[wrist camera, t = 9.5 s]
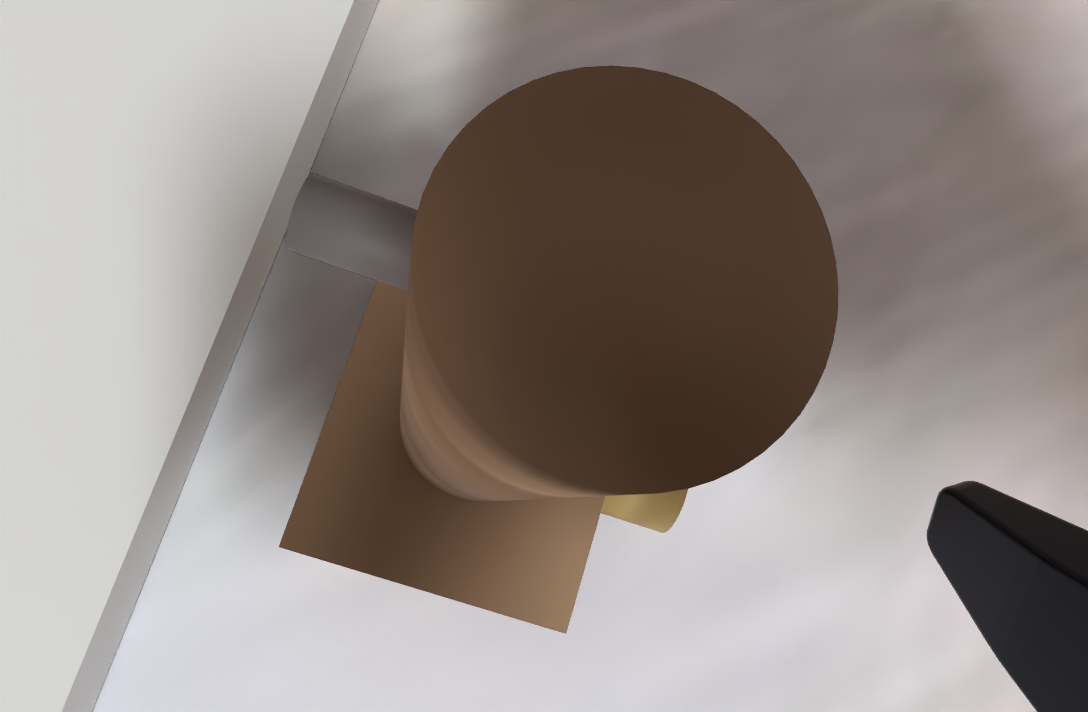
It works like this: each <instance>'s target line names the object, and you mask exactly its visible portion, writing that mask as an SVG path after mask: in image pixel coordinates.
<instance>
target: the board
mask: <svg viewBox="0 0 1088 712" xmlns="http://www.w3.org/2000/svg"><path fill="white" fill-rule="evenodd" d="M378 1H379V0H0V712H92V711H93V708H94V706H95V703H96V701H97V699H98V696H99V694H100V691H101V689H102V686H103V684H104V681H105V679H106V676H107V674H108V671H109V669H110V666H111V664H112V661H113V659H114V656H115V654H116V651H117V649H118V646H119V644H120V641H121V639H122V636H123V634H124V632H125V629H126V627H127V624H128V622H129V619H130V617H131V614H132V612H133V609H134V607H135V604H136V602H137V599H138V597H139V594H140V592H141V589H142V587H143V584H144V582H145V579H146V577H147V574H148V572H149V570H150V567H151V565H152V562H153V560H154V557H155V555H156V552H157V550H158V547H159V545H160V542H161V540H162V537H163V535H164V532H165V530H166V527H167V525H168V522H169V520H170V517H171V515H172V512H173V510H174V507H175V505H176V503H177V500H178V498H179V495H180V493H181V490H182V488H183V485H184V483H185V480H186V478H187V475H188V473H189V470H190V468H191V465H192V463H193V460H194V458H195V455H196V453H197V450H198V448H199V445H200V443H201V440H202V438H203V436H204V433H205V431H206V428H207V426H208V423H209V421H210V418H211V416H212V413H213V411H214V408H215V406H216V403H217V401H218V398H219V396H220V393H221V391H222V388H223V386H224V383H225V381H226V378H227V376H228V374H229V371H230V369H231V366H232V364H233V361H234V359H235V356H236V354H237V351H238V349H239V346H240V344H241V341H242V339H243V336H244V334H245V331H246V329H247V326H248V324H249V321H250V319H251V316H252V314H253V311H254V309H255V307H256V304H257V302H258V299H259V297H260V294H261V292H262V289H263V287H264V284H265V282H266V279H267V277H268V274H269V272H270V269H271V267H272V264H273V262H274V259H275V257H276V254H277V252H278V249H279V247H280V245H281V242H282V240H283V237H284V235H285V232H286V230H287V227H288V223H289V219H290V215H291V212H292V209H293V206H294V203H295V200H296V198H297V195H298V193H299V191H300V188H301V186H302V185H303V183H304V181H305V180H306V178H307V177H308V175H309V173H310V170H311V168H312V165H313V163H314V160H315V158H316V155H317V153H318V150H319V148H320V145H321V143H322V140H323V138H324V135H325V133H326V130H327V128H328V125H329V123H330V120H331V118H332V116H333V113H334V111H335V108H336V106H337V103H338V101H339V98H340V96H341V93H342V91H343V88H344V86H345V83H346V81H347V78H348V76H349V73H350V71H351V68H352V66H353V63H354V61H355V58H356V56H357V53H358V51H359V49H360V46H361V44H362V41H363V39H364V36H365V34H366V31H367V29H368V26H369V24H370V21H371V19H372V16H373V14H374V11H375V9H376V6H377V4H378Z"/></svg>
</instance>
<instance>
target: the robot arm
mask: <svg viewBox="0 0 1088 712" xmlns="http://www.w3.org/2000/svg"><path fill="white" fill-rule="evenodd" d="M927 541H928V545H929V547H930V550H931V552H932V554H933V555H934V557H935V559H936V560H937V562H938V564H939V565H940V567H941V568H942V570H943V572H944V573H945V575H946V577H947V578H948V580H949V581H950V583H951V585H952V586H953V588H954V590H955V591H956V593H957V594H958V596H959V598H960V599H961V601H962V603H963V604H964V606H965V607H966V609H967V611H968V612H969V614H970V616H971V617H972V619H973V620H974V622H975V624H976V625H977V627H978V629H979V630H980V632H981V633H982V635H983V637H984V638H985V640H986V642H987V643H988V645H989V646H990V648H991V649H992V651H993V652H994V654H995V655H996V657H997V658H998V660H999V661H1000V662H1001V664H1002V665H1003V667H1004V668H1005V669H1006V671H1007V672H1008V674H1009V675H1010V676H1011V678H1012V679H1013V680H1014V682H1015V683H1016V684H1017V686H1018V687H1019V688H1020V690H1021V691H1022V692H1023V694H1024V695H1025V696H1026V697H1027V699H1028V700H1029V701H1030V703H1031V704H1032V705H1033V707H1034V708H1035V709H1036V711H1037V712H1088V531H1087V530H1085V529H1083V528H1080V527H1078V526H1076V525H1074V524H1071V523H1069V522H1067V521H1065V520H1062V519H1060V518H1058V517H1056V516H1053V515H1051V514H1049V513H1047V512H1044V511H1042V510H1040V509H1038V508H1035V507H1033V506H1031V505H1029V504H1026V503H1024V502H1022V501H1020V500H1017V499H1015V498H1013V497H1011V496H1008V495H1006V494H1004V493H1002V492H999V491H997V490H995V489H993V488H990V487H988V486H986V485H984V484H981V483H979V482H975V481H965V482H961V483H958V484H955V485H952V486H949V487H945V488H943V489H942V490H941V491H940V492H939V494H938V496H937V499H936V502H935V506H934V509H933V512H932V516H931V519H930V523H929V526H928V529H927Z"/></svg>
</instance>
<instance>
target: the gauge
mask: <svg viewBox="0 0 1088 712" xmlns="http://www.w3.org/2000/svg"><path fill="white" fill-rule="evenodd" d="M286 248H287V250H289V251H292V252H295V253H298V254H301V255H304V256H306V257H309V258H312V259H315V260H318V261H321V262H324V263H327V264H330V265H333V266H336V267H338V268H341V269H344V270H347V271H350V272H353V273H356V274H359V275H362V276H365V277H368V278H370V279H373V280H376V281H377V282H376V285H375V288H374V290H373V293H372V296H371V298H370V301H369V304H368V307H367V309H366V312H365V315H364V317H363V320H362V323H361V326H360V328H359V331H358V334H357V336H356V339H355V342H354V344H353V347H352V350H351V353H350V355H349V358H348V361H347V363H346V366H345V369H344V372H343V374H342V377H341V380H340V382H339V385H338V388H337V391H336V393H335V396H334V399H333V401H332V404H331V407H330V410H329V412H328V415H327V418H326V420H325V423H324V426H323V428H322V431H321V434H320V437H319V439H318V442H317V445H316V447H315V450H314V453H313V456H312V458H311V461H310V464H309V466H308V469H307V472H306V475H305V477H304V480H303V483H302V485H301V488H300V491H299V494H298V496H297V499H296V502H295V504H294V507H293V510H292V512H291V515H290V518H289V521H288V523H287V526H286V529H285V531H284V534H283V537H282V540H281V542H280V545H279V547H281V548H284V549H287V550H291V551H294V552H297V553H301V554H304V555H307V556H310V557H314V558H317V559H320V560H324V561H327V562H330V563H334V564H337V565H340V566H344V567H347V568H350V569H354V570H357V571H360V572H363V573H367V574H370V575H373V576H377V577H380V578H383V579H387V580H390V581H393V582H397V583H400V584H403V585H406V586H410V587H413V588H416V589H420V590H423V591H426V592H430V593H433V594H436V595H440V596H443V597H446V598H449V599H453V600H456V601H459V602H463V603H466V604H469V605H473V606H476V607H479V608H483V609H486V610H489V611H492V612H496V613H499V614H502V615H506V616H509V617H512V618H516V619H519V620H522V621H526V622H529V623H532V624H536V625H539V626H542V627H545V628H549V629H552V630H555V631H559V632H562V633H565V634H566V632H567V628H568V625H569V621H570V618H571V614H572V611H573V607H574V604H575V600H576V597H577V593H578V590H579V586H580V583H581V579H582V576H583V572H584V569H585V565H586V561H587V558H588V554H589V551H590V547H591V544H592V540H593V537H594V533H595V530H596V526H597V523H598V519H599V516H600V513H603V514H606V515H609V516H612V517H615V518H618V519H621V520H624V521H628V522H631V523H634V524H637V525H640V526H643V527H646V528H649V529H652V530H656V531H659V532H662V533H664V532H666V531H668V530H669V529H670V528H671V527H672V525H673V524H674V523H675V521H676V519H677V517H678V515H679V513H680V511H681V509H682V506H683V504H684V501H685V498H686V494H687V491H688V488H692V487H695V486H698V485H701V484H704V483H707V482H711V481H714V480H716V479H718V478H720V477H722V476H724V475H727V474H729V473H731V472H733V471H735V470H737V469H739V468H741V467H742V466H744V465H745V464H747V463H748V462H750V461H751V460H753V459H754V458H756V457H757V456H759V455H760V454H762V453H763V452H764V451H765V450H766V449H767V448H769V447H770V446H771V445H772V444H773V443H774V442H775V441H776V440H778V439H779V438H780V437H781V436H782V435H783V434H784V433H785V432H786V430H787V429H788V428H789V427H790V426H791V424H792V423H793V422H794V421H795V420H796V419H797V417H798V416H799V415H800V414H801V412H802V410H803V409H804V407H805V406H806V404H807V403H808V401H809V399H810V398H811V396H812V395H813V393H814V391H815V389H816V387H817V385H818V383H819V380H820V378H821V376H822V374H823V372H824V369H825V367H826V364H827V360H828V357H829V354H830V350H831V347H832V344H833V339H834V333H835V327H836V321H837V312H838V280H837V269H836V260H835V256H834V251H833V246H832V242H831V237H830V234H829V231H828V228H827V225H826V222H825V219H824V216H823V213H822V211H821V208H820V206H819V204H818V202H817V200H816V198H815V196H814V194H813V192H812V190H811V188H810V186H809V184H808V183H807V181H806V179H805V178H804V176H803V175H802V173H801V172H800V170H799V168H798V167H797V165H796V164H795V162H794V161H793V160H792V159H791V157H790V156H789V155H788V154H787V152H786V151H785V150H784V149H783V147H782V146H781V145H780V144H779V143H778V141H777V140H776V139H775V138H773V137H772V136H771V135H770V134H769V133H768V132H767V131H766V130H765V129H764V128H763V127H762V126H761V125H760V124H759V123H758V122H757V121H756V120H754V119H753V118H752V117H750V116H749V115H748V114H747V113H745V112H744V111H743V110H741V109H740V108H739V107H738V106H736V105H734V104H733V103H731V102H729V101H728V100H726V99H724V98H723V97H721V96H719V95H718V94H716V93H715V92H712V91H710V90H708V89H706V88H704V87H702V86H699V85H697V84H695V83H693V82H691V81H688V80H685V79H682V78H679V77H676V76H672V75H669V74H666V73H663V72H657V71H652V70H647V69H642V68H635V67H621V66H599V67H583V68H578V69H573V70H567V71H562V72H557V73H554V74H551V75H548V76H545V77H542V78H539V79H536V80H533V81H531V82H529V83H527V84H525V85H523V86H520V87H518V88H516V89H514V90H512V91H510V92H508V93H507V94H505V95H504V96H502V97H501V98H499V99H498V100H496V101H495V102H493V103H492V104H490V105H489V106H487V107H486V108H485V109H484V110H483V111H481V112H480V113H479V114H478V115H477V116H476V117H475V118H474V119H472V120H471V121H470V122H469V123H468V124H467V125H466V126H465V127H464V128H463V129H462V131H461V132H460V133H459V134H458V135H457V137H456V138H455V139H454V140H453V141H452V142H451V144H450V145H449V146H448V148H447V149H446V151H445V152H444V154H443V156H442V157H441V159H440V160H439V162H438V164H437V165H436V167H435V168H434V170H433V172H432V175H431V177H430V179H429V181H428V184H427V186H426V188H425V190H424V193H423V195H422V198H421V202H420V205H419V209H418V210H415V209H412V208H410V207H407V206H404V205H401V204H398V203H396V202H393V201H390V200H387V199H384V198H382V197H379V196H376V195H373V194H370V193H368V192H365V191H362V190H359V189H356V188H354V187H351V186H348V185H345V184H342V183H339V182H337V181H334V180H331V179H328V178H325V177H323V176H320V175H317V174H314V173H311V174H310V175H309V176H308V177H307V178H306V180H305V181H304V183H303V185H302V186H301V188H300V191H299V193H298V195H297V198H296V200H295V203H294V206H293V209H292V212H291V215H290V219H289V223H288V227H287V233H286Z"/></svg>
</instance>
